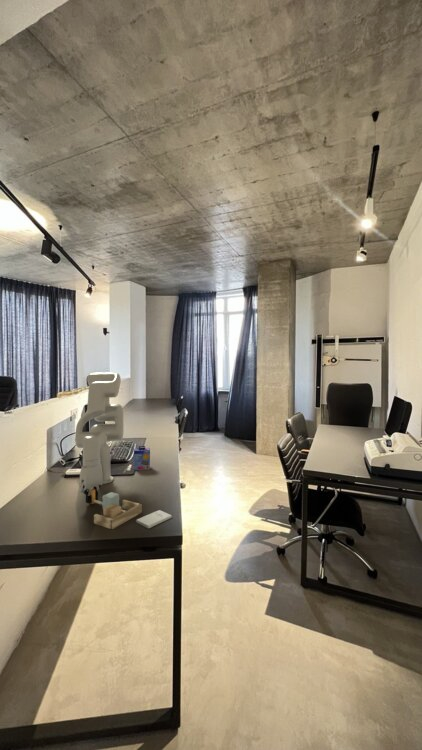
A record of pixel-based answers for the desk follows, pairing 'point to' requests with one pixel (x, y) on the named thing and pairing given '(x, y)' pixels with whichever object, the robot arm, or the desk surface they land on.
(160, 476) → the desk surface
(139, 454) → the ink cartridge box
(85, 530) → the desk surface
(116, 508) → the plain block
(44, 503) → the desk surface
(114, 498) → the block
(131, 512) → the shelf lanes
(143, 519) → the external hard drive
